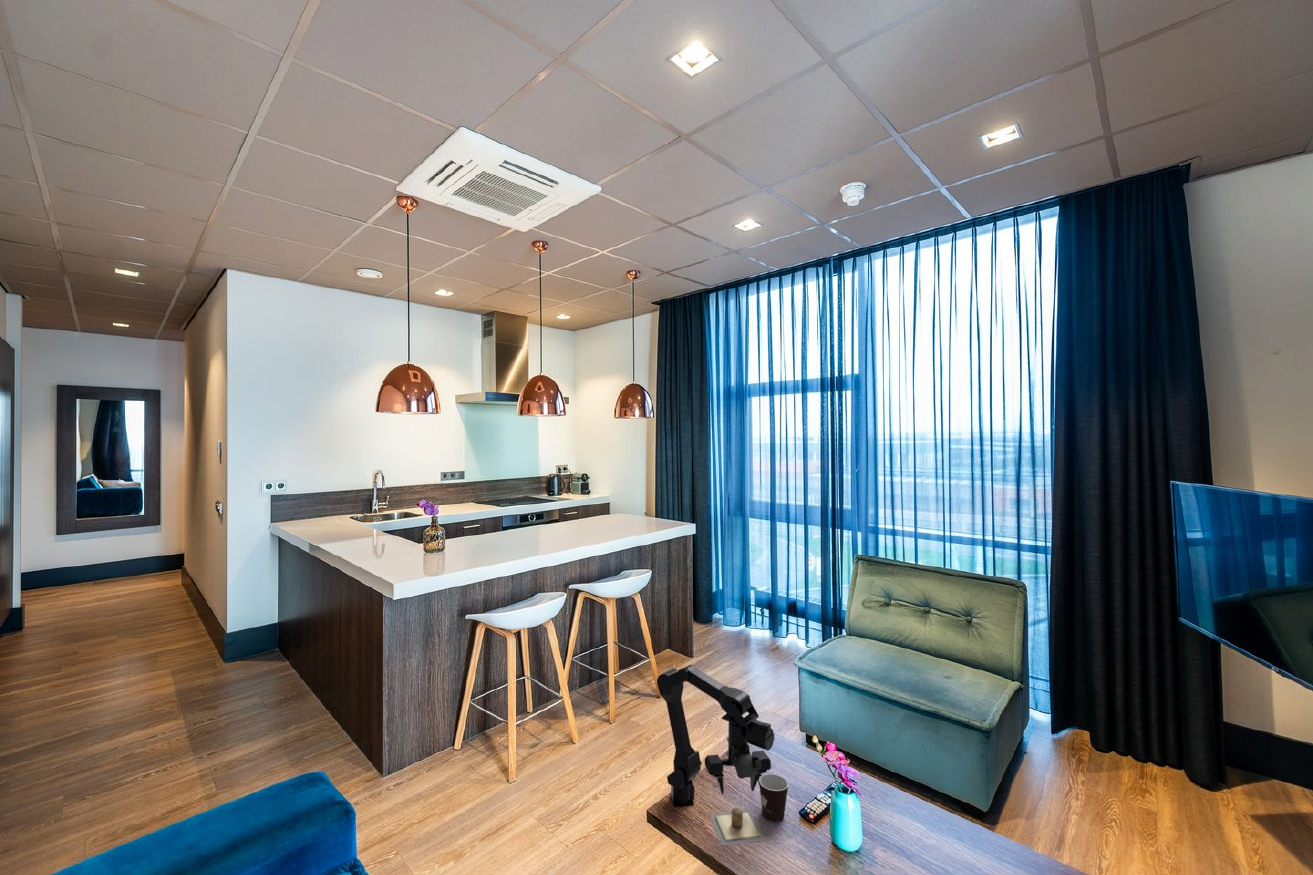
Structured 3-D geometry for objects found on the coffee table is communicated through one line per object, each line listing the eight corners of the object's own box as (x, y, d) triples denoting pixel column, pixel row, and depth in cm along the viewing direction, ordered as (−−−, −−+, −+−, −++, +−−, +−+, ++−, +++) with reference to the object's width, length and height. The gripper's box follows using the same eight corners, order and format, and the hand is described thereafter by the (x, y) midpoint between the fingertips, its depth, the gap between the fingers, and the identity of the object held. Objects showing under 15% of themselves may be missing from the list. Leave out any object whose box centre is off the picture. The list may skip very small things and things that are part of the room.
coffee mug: (790, 825, 162) (791, 791, 162) (761, 824, 162) (761, 790, 162) (782, 800, 173) (782, 768, 174) (755, 799, 173) (755, 767, 174)
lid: (726, 841, 154) (726, 824, 154) (715, 817, 164) (715, 802, 164) (759, 836, 156) (759, 820, 156) (747, 814, 166) (747, 798, 166)
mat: (722, 846, 153) (722, 845, 153) (709, 815, 165) (709, 814, 165) (766, 841, 155) (766, 839, 155) (750, 811, 168) (750, 810, 168)
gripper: (715, 755, 151) (714, 813, 151) (779, 749, 155) (778, 806, 154) (704, 734, 162) (703, 788, 162) (764, 730, 166) (763, 782, 165)
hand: (737, 791), depth 161 cm, fingers open, 9 cm apart
